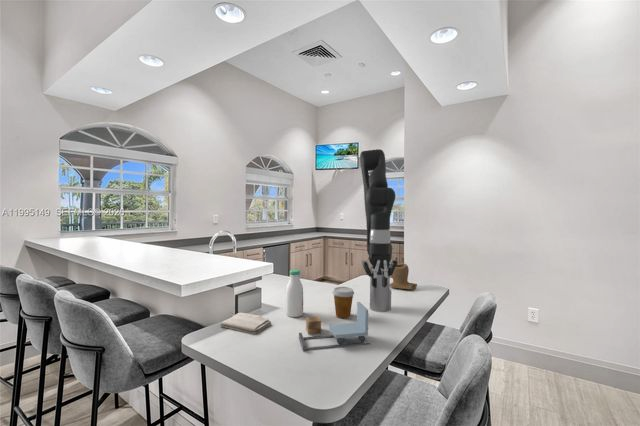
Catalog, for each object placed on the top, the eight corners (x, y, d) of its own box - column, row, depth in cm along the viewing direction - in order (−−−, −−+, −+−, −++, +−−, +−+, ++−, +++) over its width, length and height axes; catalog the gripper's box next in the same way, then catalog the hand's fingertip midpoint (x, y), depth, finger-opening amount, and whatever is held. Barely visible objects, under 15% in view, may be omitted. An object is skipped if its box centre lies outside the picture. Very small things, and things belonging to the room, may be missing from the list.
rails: (361, 332, 116) (361, 327, 116) (370, 344, 106) (371, 339, 106) (298, 338, 111) (298, 332, 111) (302, 351, 101) (302, 345, 101)
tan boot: (386, 289, 176) (387, 264, 175) (392, 284, 186) (392, 260, 186) (413, 293, 169) (413, 266, 168) (417, 288, 179) (417, 263, 179)
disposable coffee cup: (356, 314, 136) (356, 288, 135) (349, 321, 127) (350, 293, 127) (337, 310, 140) (337, 285, 139) (329, 317, 131) (329, 290, 131)
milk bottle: (300, 318, 130) (300, 272, 130) (283, 316, 132) (283, 271, 131) (304, 312, 138) (305, 269, 137) (288, 310, 139) (289, 268, 139)
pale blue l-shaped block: (359, 331, 115) (359, 301, 115) (367, 342, 107) (368, 310, 106) (329, 334, 113) (329, 303, 113) (335, 345, 104) (335, 312, 104)
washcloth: (256, 336, 114) (256, 328, 114) (218, 328, 120) (218, 320, 120) (272, 324, 125) (272, 317, 124) (237, 317, 131) (237, 310, 131)
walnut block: (318, 328, 120) (318, 316, 120) (320, 333, 115) (321, 320, 115) (306, 329, 119) (306, 317, 119) (308, 334, 114) (308, 321, 114)
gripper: (392, 239, 116) (392, 283, 117) (358, 240, 113) (358, 285, 114) (402, 242, 109) (401, 289, 110) (365, 242, 106) (365, 291, 107)
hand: (379, 287), depth 112 cm, fingers open, 3 cm apart
